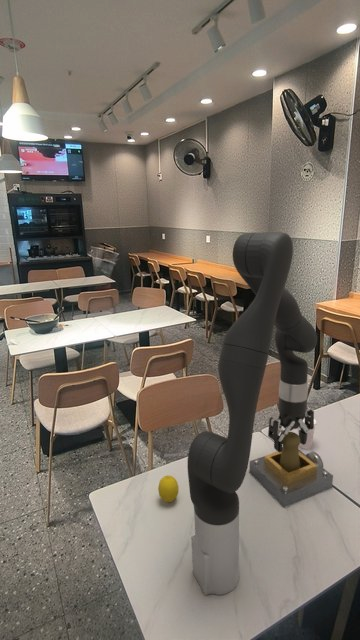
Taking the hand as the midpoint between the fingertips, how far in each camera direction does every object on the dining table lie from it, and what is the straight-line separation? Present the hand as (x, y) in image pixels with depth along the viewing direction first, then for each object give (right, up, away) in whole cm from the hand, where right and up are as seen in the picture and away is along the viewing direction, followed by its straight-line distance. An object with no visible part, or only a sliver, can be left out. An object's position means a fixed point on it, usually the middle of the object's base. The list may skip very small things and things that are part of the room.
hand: (290, 446), depth 105 cm
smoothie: (+11, -6, +19) cm, 22 cm away
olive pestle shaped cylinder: (0, -7, +2) cm, 7 cm away
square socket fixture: (0, -11, +3) cm, 11 cm away
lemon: (-35, -14, -4) cm, 38 cm away
